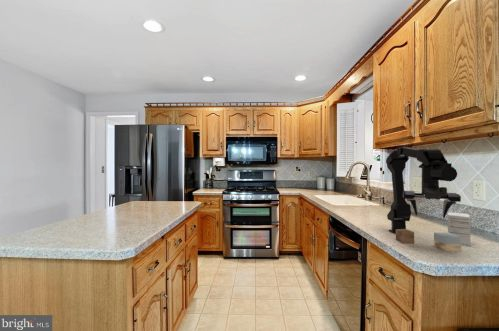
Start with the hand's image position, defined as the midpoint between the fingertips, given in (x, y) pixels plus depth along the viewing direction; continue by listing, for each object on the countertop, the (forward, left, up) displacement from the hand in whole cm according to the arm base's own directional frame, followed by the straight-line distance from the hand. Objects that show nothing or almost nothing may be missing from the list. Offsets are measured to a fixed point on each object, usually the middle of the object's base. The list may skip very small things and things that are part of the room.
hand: (429, 216), depth 100 cm
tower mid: (+1, +6, -10) cm, 12 cm away
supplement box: (-5, +17, -13) cm, 22 cm away
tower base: (+1, +6, -13) cm, 15 cm away
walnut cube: (-9, -5, -13) cm, 16 cm away
